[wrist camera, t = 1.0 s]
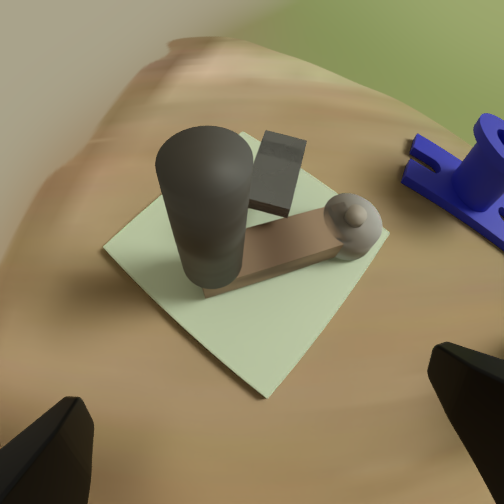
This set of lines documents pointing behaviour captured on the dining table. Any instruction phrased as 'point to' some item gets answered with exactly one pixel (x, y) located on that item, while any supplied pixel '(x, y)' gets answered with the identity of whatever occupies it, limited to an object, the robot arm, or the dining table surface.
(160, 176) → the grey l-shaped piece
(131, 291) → the dining table surface
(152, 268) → the plate
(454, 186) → the mount
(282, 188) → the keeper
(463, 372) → the robot arm
